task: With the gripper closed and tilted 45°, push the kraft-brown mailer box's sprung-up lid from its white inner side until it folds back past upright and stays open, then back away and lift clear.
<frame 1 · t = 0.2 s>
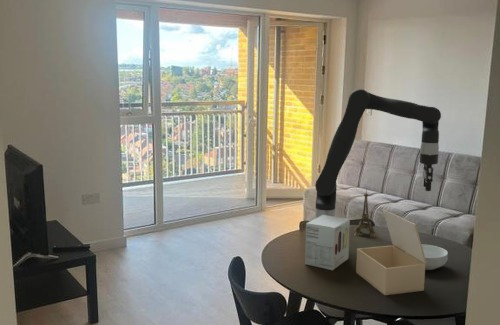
hand: (427, 188, 212), 29 cm above the table, tool pointing down, fingers open, 8 cm apart
mailer box: (388, 281, 184), on the table
supplement box: (327, 262, 204), on the table
mailer lid: (403, 235, 182), point 18 cm above the table, hinge at 70.0°
eiffel tower: (364, 234, 244), on the table
carton: (407, 251, 218), on the table
cereal bowl: (425, 267, 199), on the table
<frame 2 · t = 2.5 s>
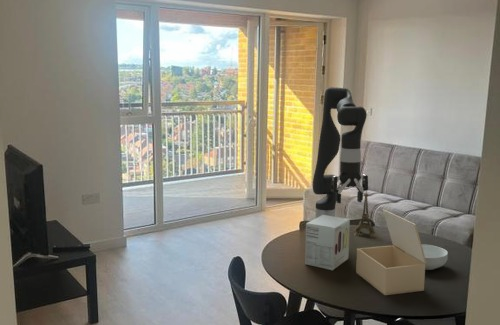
hand: (349, 202, 181), 31 cm above the table, tool pointing down, fingers open, 8 cm apart
nothing on the table moved.
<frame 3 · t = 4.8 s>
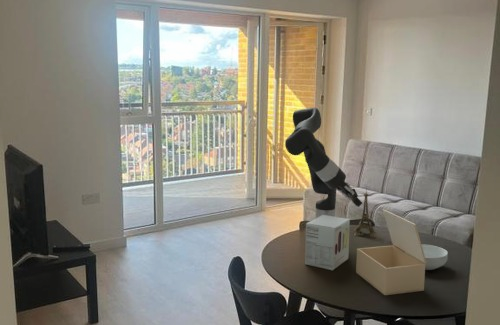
hand: (359, 204, 175), 31 cm above the table, tool tilted 45°, fingers closed
nothing on the table moved.
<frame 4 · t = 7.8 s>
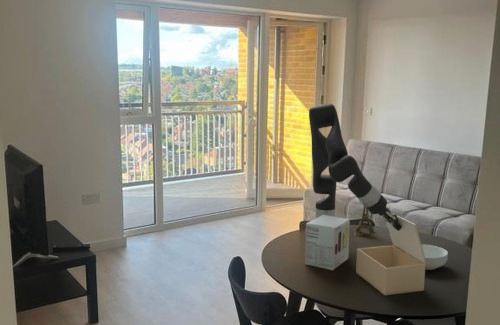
hand: (399, 228, 181), 21 cm above the table, tool tilted 45°, fingers closed
mailer lid: (403, 235, 182), point 18 cm above the table, hinge at 70.1°, touching gripper
everything else where it was.
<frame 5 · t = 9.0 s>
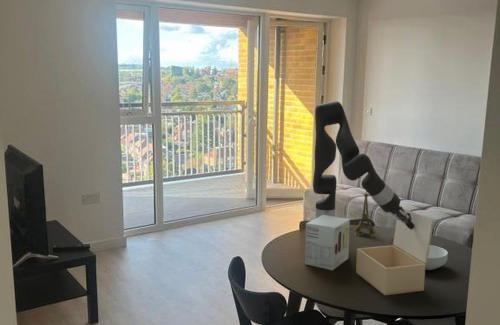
hand: (412, 227, 182), 21 cm above the table, tool tilted 45°, fingers closed
mailer lid: (411, 233, 183), point 18 cm above the table, hinge at 96.7°, touching gripper
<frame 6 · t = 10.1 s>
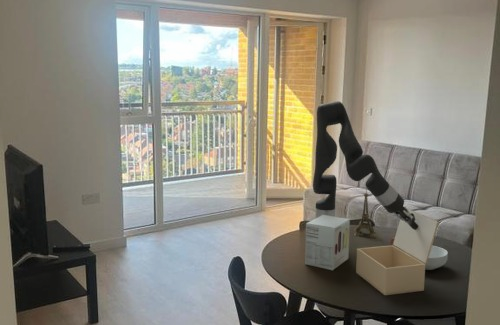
hand: (415, 227, 182), 21 cm above the table, tool tilted 45°, fingers closed
mailer lid: (414, 234, 183), point 18 cm above the table, hinge at 104.8°, touching gripper
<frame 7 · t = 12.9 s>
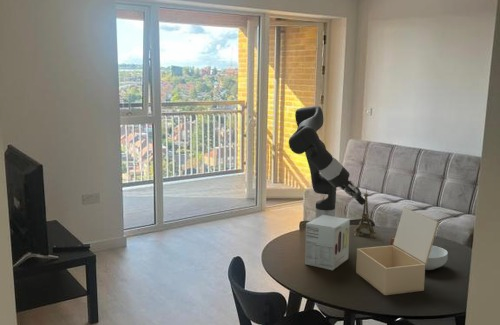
hand: (363, 202, 176), 32 cm above the table, tool tilted 45°, fingers closed
mailer lid: (414, 234, 183), point 18 cm above the table, hinge at 104.9°
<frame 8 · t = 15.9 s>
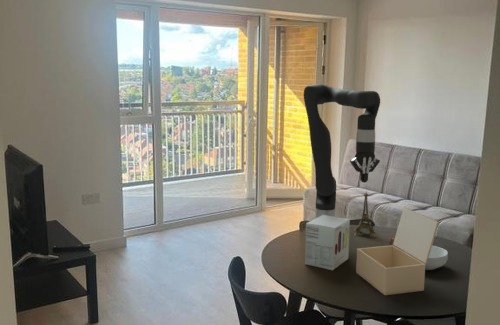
hand: (364, 182, 197), 35 cm above the table, tool pointing down, fingers closed
at the end: mailer lid at +105° (first picture: +70°) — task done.
